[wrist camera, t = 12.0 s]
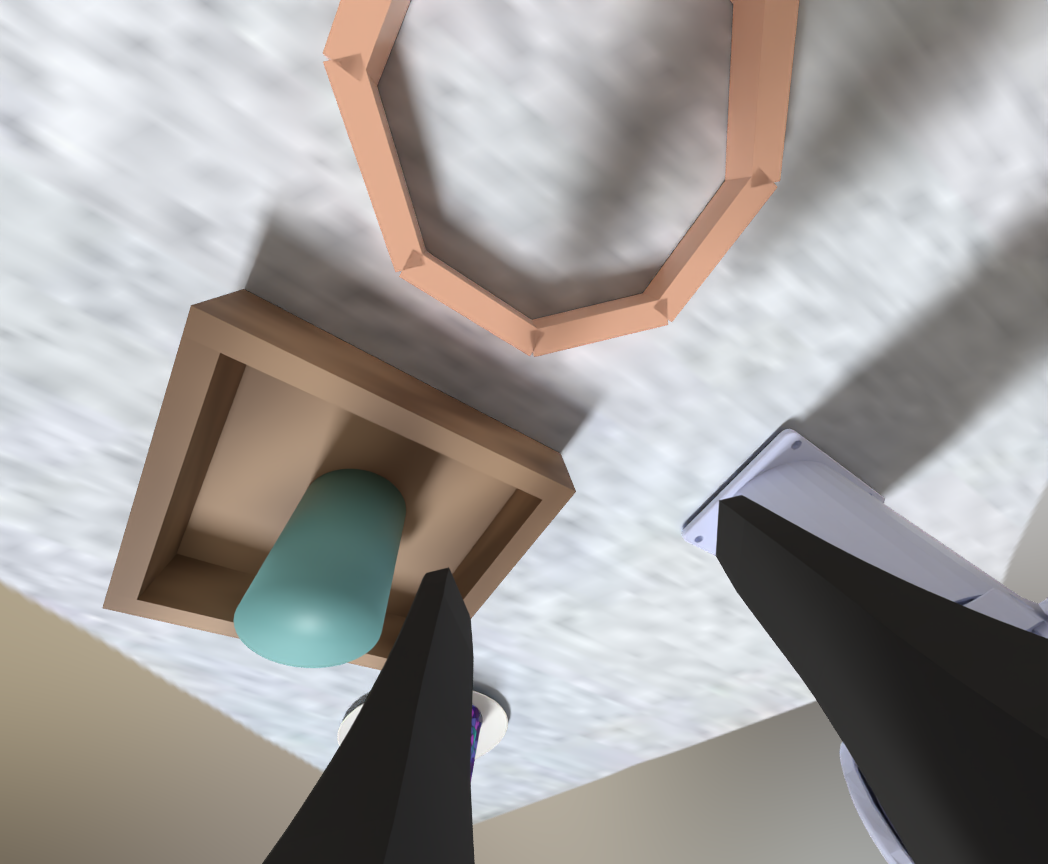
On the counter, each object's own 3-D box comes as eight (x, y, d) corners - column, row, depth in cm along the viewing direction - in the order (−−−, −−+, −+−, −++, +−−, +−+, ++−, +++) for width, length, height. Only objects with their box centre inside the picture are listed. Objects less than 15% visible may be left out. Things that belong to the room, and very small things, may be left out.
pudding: (395, 655, 25) (379, 753, 20) (538, 699, 29) (552, 787, 25) (310, 745, 28) (280, 846, 24) (449, 771, 33) (446, 860, 28)
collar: (836, 75, 13) (877, 59, 12) (597, 389, 17) (607, 403, 16) (504, -391, 8) (511, -506, 7) (293, 201, 13) (272, 199, 11)
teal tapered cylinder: (385, 458, 17) (349, 564, 12) (429, 555, 20) (416, 674, 15) (284, 482, 17) (202, 600, 12) (344, 576, 20) (300, 703, 15)
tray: (560, 453, 19) (576, 491, 16) (426, 627, 23) (421, 678, 21) (243, 288, 14) (190, 305, 11) (154, 552, 18) (102, 608, 16)
